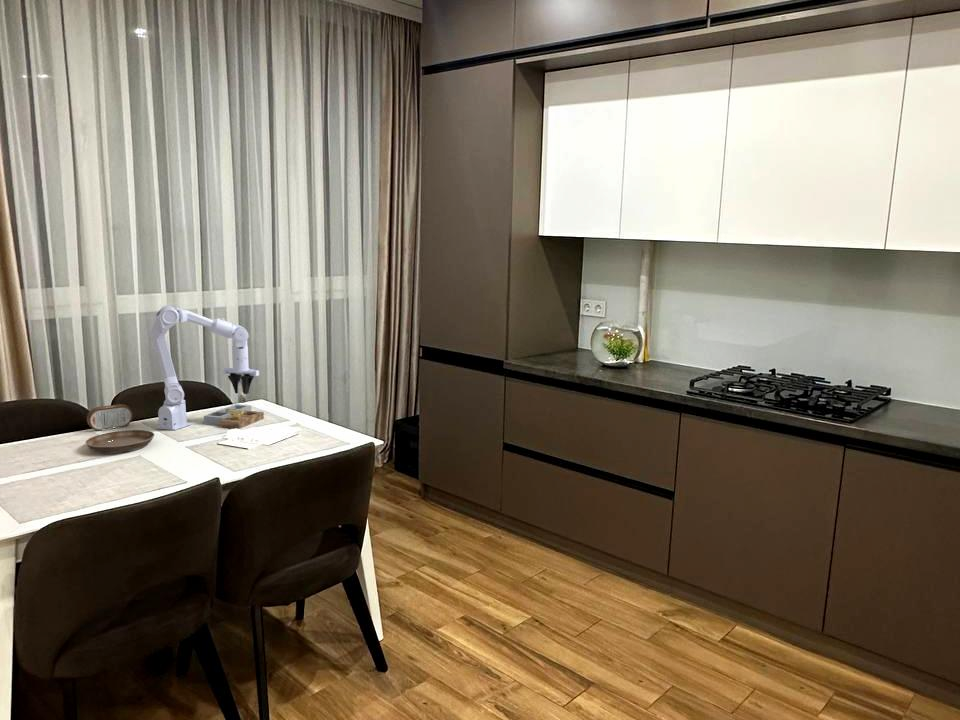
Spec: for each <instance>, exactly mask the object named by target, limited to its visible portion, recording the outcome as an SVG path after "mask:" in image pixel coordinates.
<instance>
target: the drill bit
mask: <svg viewBox="0 0 960 720" xmlns="http://www.w3.org/2000/svg"><path fill="white" fill-rule="evenodd" d="M236 394H237V403H239V404H240V403H246V402H247V401H248V399H247V394H244V393H243V383H242V380H241V379H240V380H239V381H237V393H236Z"/></svg>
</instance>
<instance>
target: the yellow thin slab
mask: <svg viewBox="0 0 960 720" xmlns="http://www.w3.org/2000/svg"><path fill="white" fill-rule="evenodd" d="M228 413H231V417H232V419H237V420H239V419H240V414H243V413H244V411H241V410H230V409H229V410H228Z"/></svg>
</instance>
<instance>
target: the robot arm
mask: <svg viewBox="0 0 960 720" xmlns="http://www.w3.org/2000/svg"><path fill="white" fill-rule="evenodd" d="M186 322H190V323H193V324H196V325H200V326H203V327H206V328H209V329H210V331H211V333H213V334H215V335H219V336H221V337H224V338H226V339H231V341H232V342H231V343H232V344H231V350H232V351H231V352H232V353H231V358H232V359H231V360H232V367H225V368H222V373H223V374H229V375H227V378H228V379H229V382H231V384H232V387H233V391H234V394H238V393H237V381H239V380H242V383H243V393H244V394H246V395H247V394H249V391H250V387H251V384H252V382H253V379H254V378H255V377H258V376H260V370H258V369H252V368H249V346H248V339H249V337H250V335H249V332H248V330H247V329H246V328H245V327H243V326H241V325H239V324H238V323H232V322H229V321H226V320H225V318H224V317H221V318H219V317H218V318H214V319H211V318H208V317H206V316H203V315H201V314H198V313H196V312H193V311H191V310H188V309H185V308H181V307H176V308H175V307H174V306H172V305H164V306H163V307H161V308H160V309H159V310H158V312H156V314H155V317H154V320H153V322H152V325H151V327H150V330H149V331H150V332H149V333H150V336H151V340H152V342H153V348H154V350H155V354H156V358H157V361H158V364H159V368H160V372H161V375H162V378H163V382H164V389H163V391H164V395H165V400H163V405H162V406H160V407H159V409H158V411H157V416H158V418H157V419H158V426H157V428H156V429H161V430H171V431H178V430H179V429H182V428H185V427H188V426H190V425H192V424H193V422H189V421H187V410H186V409H187V408H186V400H185V399H184V398H185V392H184V389H183V387H182V385H181V384H180V383H179V381H178V377H177V374H176V371H175V367H174V363H173V360H172V356H171V353H170V349H169V348H170V347H169V345H168V342H167V338H166V334H167V332H168V331H169V330H170V329H171V328H172V327H173V326H175V325H176V324H178V323H186Z"/></svg>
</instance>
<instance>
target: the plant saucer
mask: <svg viewBox="0 0 960 720" xmlns="http://www.w3.org/2000/svg"><path fill="white" fill-rule="evenodd" d="M154 437H155V433H154V432H152V431H149V430H145V429H144V430H143V429H128V430H127V429H126V430H118V431H117V430H116V431H110V432H105V433H101V434H98V435H94V436H92V437H90V438H88V439H86V441H85V444H86V446H87V447H88V448H89V449H90V450H92V451H94V452H96V453H99V454H122V453H129V452H135V451H138V450H140V449H143V448H145V447H147V446H148V445H149V444H150V443H151V442H152V440H154ZM112 440H113V441H112ZM108 441H111V442H108Z"/></svg>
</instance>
